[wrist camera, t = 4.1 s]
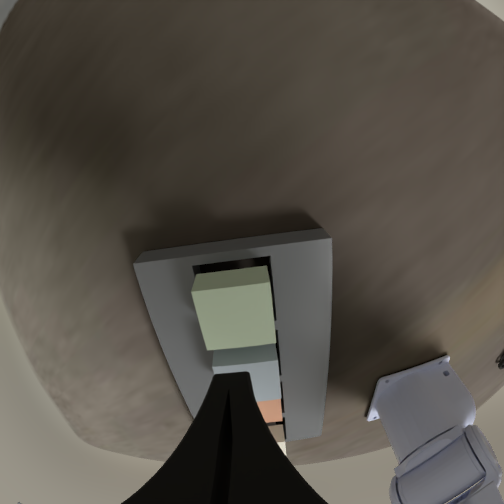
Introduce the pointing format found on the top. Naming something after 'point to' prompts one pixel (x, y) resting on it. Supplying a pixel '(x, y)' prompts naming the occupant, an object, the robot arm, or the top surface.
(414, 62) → the top surface
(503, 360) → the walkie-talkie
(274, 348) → the key slate
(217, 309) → the key sage
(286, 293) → the grey slotted tray
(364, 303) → the top surface
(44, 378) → the top surface
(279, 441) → the key ivory
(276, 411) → the key terracotta
